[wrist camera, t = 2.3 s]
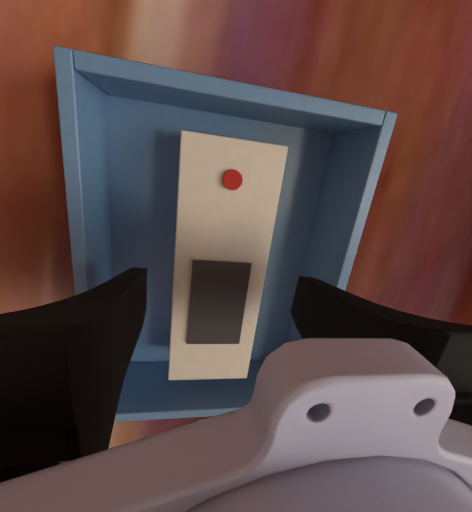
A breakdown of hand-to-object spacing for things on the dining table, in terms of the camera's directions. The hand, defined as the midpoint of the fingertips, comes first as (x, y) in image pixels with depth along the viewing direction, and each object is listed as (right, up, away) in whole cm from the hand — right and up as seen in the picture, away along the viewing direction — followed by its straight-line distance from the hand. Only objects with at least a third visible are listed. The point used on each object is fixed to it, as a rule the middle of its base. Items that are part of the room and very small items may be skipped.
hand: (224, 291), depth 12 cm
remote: (-1, +2, +4) cm, 4 cm away
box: (-1, +2, +4) cm, 5 cm away
